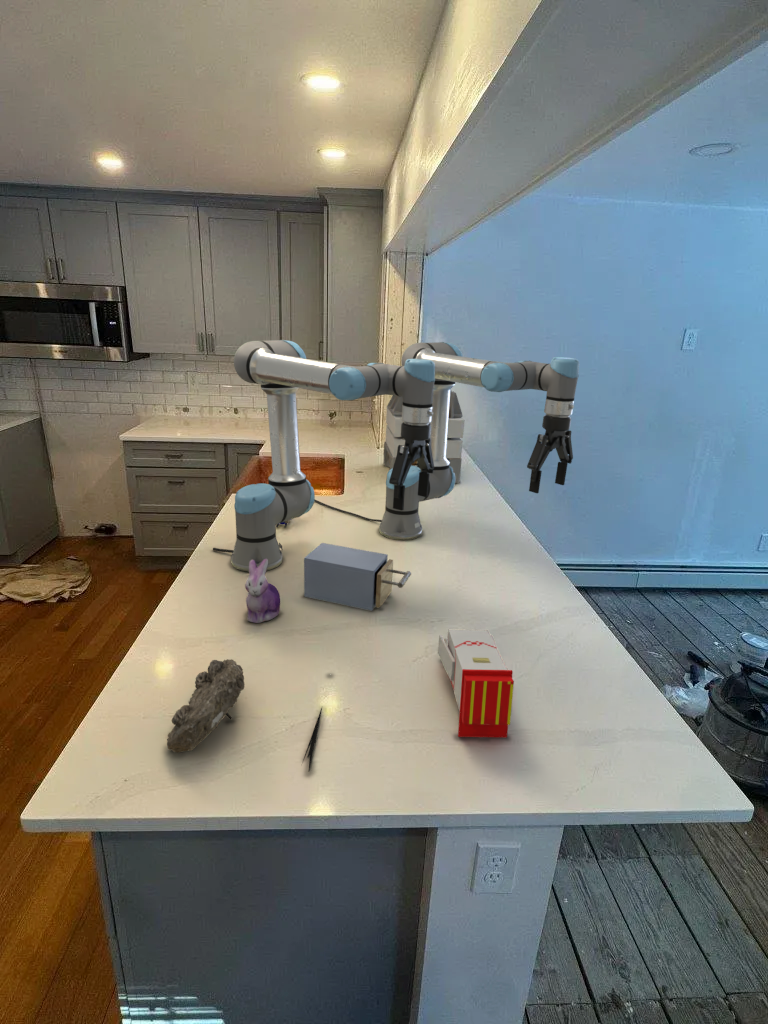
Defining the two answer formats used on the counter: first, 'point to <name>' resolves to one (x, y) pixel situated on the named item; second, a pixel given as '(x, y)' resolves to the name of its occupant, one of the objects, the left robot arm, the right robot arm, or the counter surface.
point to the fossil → (206, 705)
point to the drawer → (386, 582)
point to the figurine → (261, 594)
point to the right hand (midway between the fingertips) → (546, 488)
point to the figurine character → (284, 523)
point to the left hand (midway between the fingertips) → (410, 502)
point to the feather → (313, 740)
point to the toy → (478, 682)
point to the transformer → (395, 439)
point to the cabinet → (342, 575)
